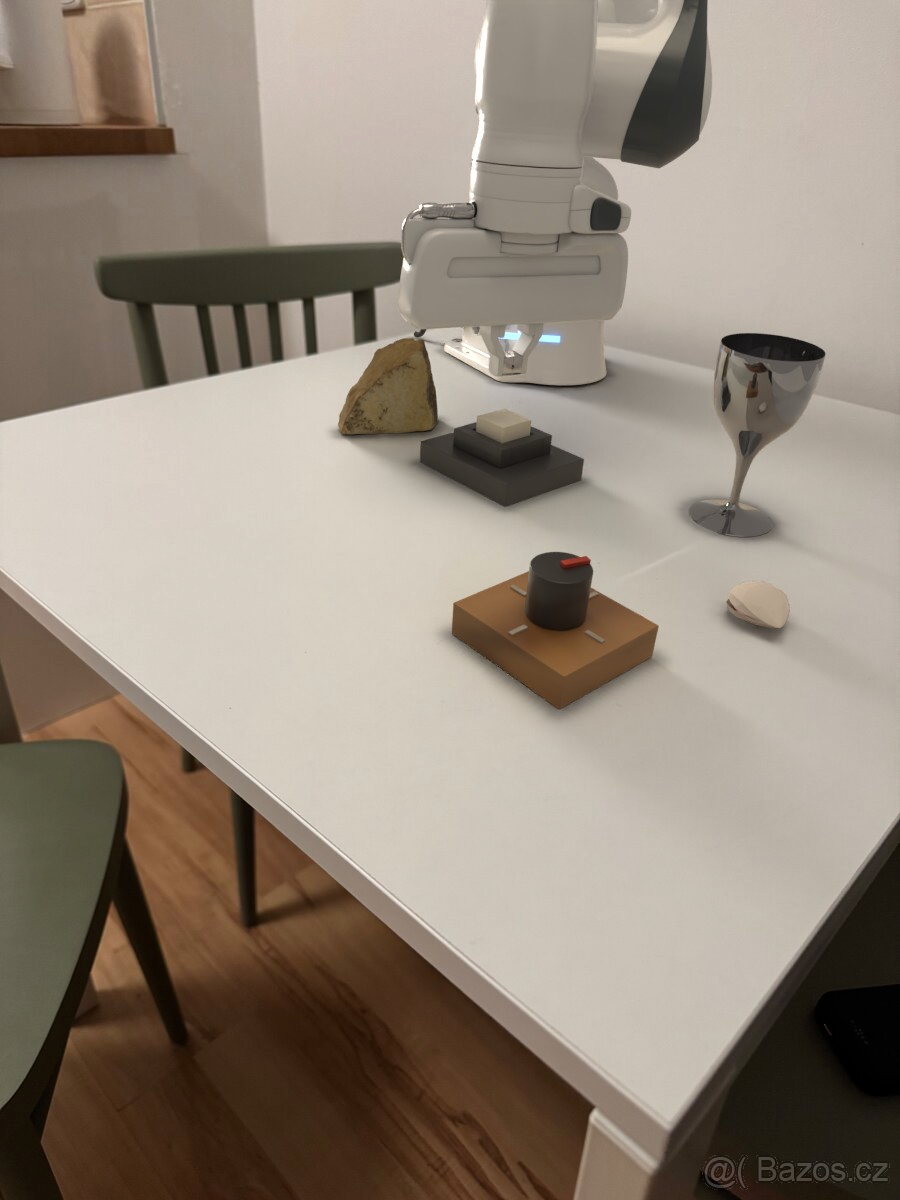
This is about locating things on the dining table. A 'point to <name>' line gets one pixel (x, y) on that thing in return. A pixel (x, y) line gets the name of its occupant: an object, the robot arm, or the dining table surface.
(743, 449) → the wine glass
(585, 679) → the volume panel
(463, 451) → the button base
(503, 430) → the cream square button
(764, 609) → the clam shell
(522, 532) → the dining table surface
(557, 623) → the volume knob
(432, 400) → the rock
